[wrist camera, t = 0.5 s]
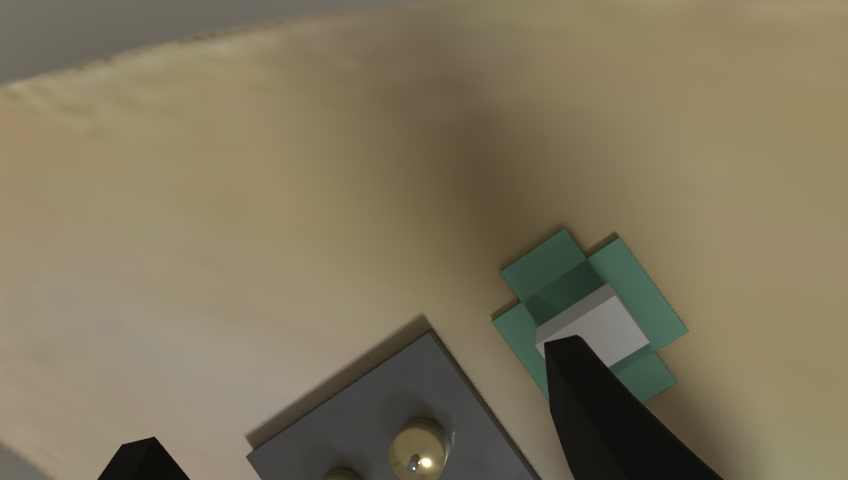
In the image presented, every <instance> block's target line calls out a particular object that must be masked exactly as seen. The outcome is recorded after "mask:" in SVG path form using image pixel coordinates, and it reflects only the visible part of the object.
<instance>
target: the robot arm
mask: <svg viewBox="0 0 848 480" xmlns="http://www.w3.org/2000/svg"><path fill="white" fill-rule="evenodd" d="M544 352H545V363H546V373H547V383H548V393H549V404H550V412H551V415H552V418H553V421H554V424H555V427H556V430H557V433H558V436H559V439H560V442H561V445H562V448H563V451H564V454H565V457H566V459H567V462H568V465H569V467H570V470H571V472H572V474H573V476H574V479H575V480H723V479H722V478H721V477H720V476H719V475H718V474H717V473H715V472H714V471H713V470H712V469H711V468H710V467H709V466H707V465H706V464H705V463H704V462H703V461H702V460H701V459H700V458H698V457H697V456H696V455H695V454H694V453H693V452H692V451H691V450H690V449H689V448H687V447H686V446H685V445H684V444H683V443H682V442H681V441H680V440H679V439H678V438H677V437H676V436H675V435H673V434H672V433H671V432H670V431H669V430H668V429H667V428H666V427H665V426H664V425H663V424H662V423H661V422H660V421H659V420H658V419H657V418H656V417H655V416H654V415H653V414H652V413H651V412H650V411H649V410H648V409H647V408H646V407H645V406H644V405H643V404H642V403H641V402H640V401H639V400H638V399H637V398H636V397H635V396H634V395H633V394H632V393H631V392H630V391H629V390H628V389H627V388H626V387H625V386H624V385H623V383H622V382H621V381H620V380H619V379H618V378H617V377H616V376H615V375H614V374H613V373H612V372H611V371H610V369H609V368H608V367H607V366H606V365H605V364H604V363H603V362H602V360H601V359H600V358H599V357H598V356H597V355H596V353H595V352H594V351H593V350H592V349H591V348H590V346H589V345H588V344H587V343H586V341H585V340H584V339H583V338H582V337H580V336H578V335H573V336H569V337H565V338H561V339H556V340H552V341H548V342H544ZM98 480H190V479H189V478H188V476H187V475H186V474H185V473H184V472H183V470H182V469H181V468H180V467H179V466H178V464H177V463H176V462H175V461H174V459H173V458H172V457H171V456H170V455H169V453H168V452H167V451H166V450H165V449H164V447H163V446H162V445H161V444H160V442H159V441H158V440H157V439H156V438H155V437H151V438H147V439H143V440H139V441H135V442H131V443H127V444H122V445H121V447H120V448H119V450H118V451H117V452H116V454H115V455H114V457H113V458H112V459H111V461H110V462H109V464H108V465H107V466H106V468H105V469H104V471H103V472H102V474H101V475H100V477H99V478H98Z"/></svg>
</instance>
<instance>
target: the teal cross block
mask: <svg viewBox="0 0 848 480" xmlns="http://www.w3.org/2000/svg"><path fill="white" fill-rule="evenodd" d="M500 273H501V274H502V276H503V277H504V278H505V280H506V281H507V282H508V284H509V285H510V287H511V288H512V289H513V291H514V292H515V294H516V295H517V296H518V298H519V299H520V300H521V302H520V303H518V304H516V305H515V306H513V307H512V308H510V309H509V310H507V311H506V312H504V313H503V314H501V315H500V316H498V317H497V318H495V319H494V320H493V321H492V322H493V324H494V325H495V327H496V328H497V329H498V331H499V332H500V333H501V335H502V336H503V338H504V339H505V340H506V342H507V343H508V345H509V346H510V347H511V349H512V350H513V351H514V353H515V354H516V356H517V357H518V358H519V360H520V361H521V363H522V364H523V365H524V367H525V368H526V370H527V371H528V372H529V374H530V375H531V376H532V378H533V379H534V381H535V382H536V383H537V385H538V386H539V388H540V389H541V390H542V392H543V393H544V394H545V396H546V397H547V399H548V400H549V393H548V383H547V373H546V363H545V352H544V342H548V341H552V340H556V339H561V338H565V337H569V336H573V335H578V336H580V337H582V338H583V339H584V340H585V341H586V343H587V344H588V345H589V346H590V348H591V349H592V350H593V351H594V352H595V353H596V355H597V356H598V357H599V358H600V359H601V360H602V362H603V363H604V364H605V365H606V366H607V367H608V368H609V369H610V371H611V372H612V373H613V374H614V375H615V376H616V377H617V378H618V379H619V380H620V381H621V382H622V383H623V385H624V386H625V387H626V388H627V389H628V390H629V391H630V392H631V393H632V394H633V395H634V396H635V397H636V398H637V399H638V400H639V401H640V402H641V403H643V402H645V401H647V400H648V399H650V398H652V397H654V396H655V395H657V394H659V393H661V392H662V391H664V390H666V389H668V388H669V387H671V386H673V385H675V384H676V383H677V381H676V380H675V379H674V377H673V376H672V374H671V373H670V372H669V370H668V369H667V368H666V366H665V365H664V363H663V362H662V361H661V359H660V358H659V357H658V355H657V354H656V352H655V351H657V350H659V349H660V348H662V347H664V346H665V345H667V344H669V343H670V342H672V341H674V340H675V339H677V338H679V337H680V336H682V335H684V334H686V333H687V332H689V331H688V330H687V328H686V327H685V326H684V324H683V323H682V321H681V320H680V319H679V317H678V316H677V315H676V313H675V312H674V311H673V309H672V308H671V306H670V305H669V304H668V302H667V301H666V300H665V298H664V297H663V296H662V294H661V293H660V291H659V290H658V289H657V287H656V286H655V285H654V283H653V282H652V281H651V279H650V278H649V276H648V275H647V274H646V272H645V271H644V270H643V268H642V267H641V266H640V264H639V263H638V261H637V260H636V259H635V257H634V256H633V255H632V253H631V252H630V251H629V249H628V248H627V246H626V245H625V244H624V242H623V241H622V240H621V238H620V237H618V238H616V239H615V240H613V241H612V242H610V243H609V244H607V245H606V246H604V247H603V248H601V249H600V250H598V251H597V252H595V253H594V254H592V255H591V256H589V257H588V258H586V257H585V255H584V254H583V253H582V251H581V250H580V248H579V247H578V246H577V244H576V243H575V242H574V240H573V239H572V237H571V236H570V235H569V233H568V232H567V231H566V229H565V228H563V229H562V230H560V231H559V232H558V233H556V234H555V235H553V236H552V237H550V238H549V239H547V240H546V241H544V242H543V243H542V244H540V245H539V246H537V247H536V248H534V249H533V250H531V251H530V252H528V253H527V254H525V255H524V256H523V257H521V258H520V259H518V260H517V261H515V262H514V263H512V264H511V265H509V266H508V267H506V268H505V269H504V270H502V271H501V272H500Z"/></svg>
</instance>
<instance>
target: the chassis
mask: <svg viewBox="0 0 848 480" xmlns="http://www.w3.org/2000/svg"><path fill="white" fill-rule="evenodd" d="M246 458H247V459H248V461H249V462H250V464H251V465H252V467H253V468H254V469H255V471H256V472H257V474H258V475H259V477H260V478H261V479H262V480H540V479H539V477H538V476H537V474H536V473H535V472H534V470H533V469H532V467H531V466H530V465H529V463H528V462H527V461H526V459H525V458H524V456H523V455H522V454H521V452H520V451H519V449H518V448H517V447H516V445H515V444H514V442H513V441H512V440H511V438H510V437H509V435H508V434H507V433H506V431H505V430H504V428H503V427H502V426H501V424H500V423H499V421H498V420H497V419H496V417H495V416H494V414H493V413H492V412H491V410H490V409H489V407H488V406H487V405H486V403H485V402H484V400H483V399H482V398H481V396H480V395H479V393H478V392H477V391H476V389H475V388H474V386H473V385H472V384H471V382H470V381H469V379H468V378H467V377H466V375H465V374H464V372H463V371H462V370H461V368H460V367H459V365H458V364H457V363H456V361H455V360H454V359H453V357H452V356H451V354H450V353H449V352H448V350H447V349H446V347H445V346H444V345H443V343H442V342H441V340H440V339H439V338H438V336H437V335H436V333H435V332H434V331H433V329H430V330H429V331H427V332H426V333H424V334H423V335H421V336H420V337H418V338H417V339H415V340H414V341H412V342H411V343H409V344H408V345H407V346H405V347H404V348H402V349H401V350H399V351H398V352H396V353H395V354H393V355H392V356H390V357H389V358H387V359H386V360H384V361H383V362H382V363H380V364H379V365H377V366H376V367H374V368H373V369H371V370H370V371H368V372H367V373H365V374H364V375H362V376H361V377H359V378H358V379H357V380H355V381H354V382H352V383H351V384H349V385H348V386H346V387H345V388H343V389H342V390H340V391H339V392H337V393H336V394H334V395H333V396H332V397H330V398H329V399H327V400H326V401H324V402H323V403H321V404H320V405H318V406H317V407H315V408H314V409H312V410H311V411H309V412H308V413H307V414H305V415H304V416H302V417H301V418H299V419H298V420H296V421H295V422H293V423H292V424H290V425H289V426H287V427H286V428H284V429H283V430H281V431H280V432H279V433H277V434H276V435H274V436H273V437H271V438H270V439H268V440H267V441H265V442H264V443H262V444H261V445H259V446H258V447H256V448H255V449H254V450H252V451H251V452H250V453H249V454H248V455H247V456H246Z"/></svg>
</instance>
